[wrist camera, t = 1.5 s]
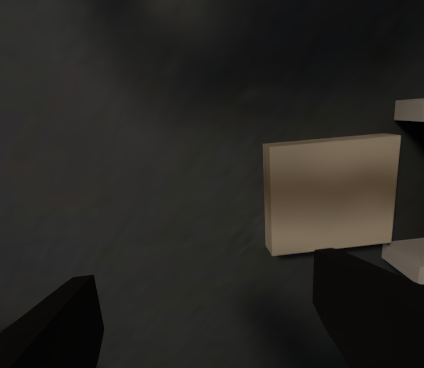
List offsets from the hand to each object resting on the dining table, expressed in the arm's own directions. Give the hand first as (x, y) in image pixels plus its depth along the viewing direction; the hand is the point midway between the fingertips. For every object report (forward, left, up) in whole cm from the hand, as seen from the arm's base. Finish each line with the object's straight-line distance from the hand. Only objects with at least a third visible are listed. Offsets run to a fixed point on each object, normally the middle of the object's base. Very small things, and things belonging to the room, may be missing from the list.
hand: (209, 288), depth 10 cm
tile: (+3, -8, -10) cm, 13 cm away
